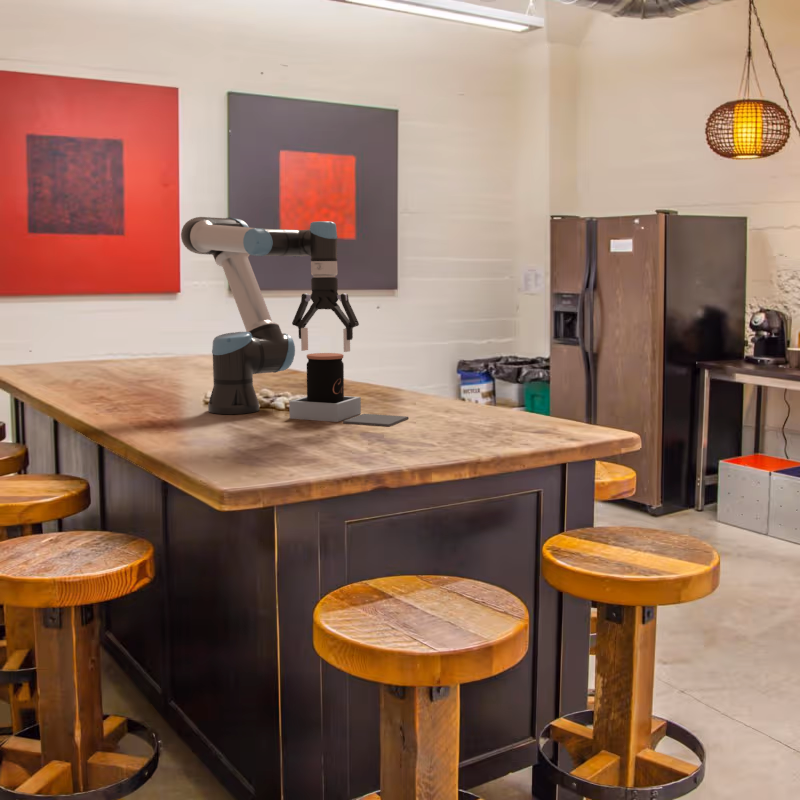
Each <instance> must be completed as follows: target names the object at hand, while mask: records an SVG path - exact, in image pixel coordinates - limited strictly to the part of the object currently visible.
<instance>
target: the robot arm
mask: <svg viewBox="0 0 800 800" xmlns="http://www.w3.org/2000/svg"><path fill="white" fill-rule="evenodd" d="M309 226H310V227H309V229H277V228H276V229H274V228H262V227H250V226H249V225H248V223H247V222H245V221H244V220H242V219H240V218H234V217H211V216H210V217H209V216H208V217H206V216H199V217H198V216H197V217H193V218H191V219H189V220H188V221H186V222H185V223H184V225H183V226H182V228H181V232H180V237H181V238H180V239H181V242H182V244H183V246H184V247H185V248H186V249H187V250H188V251H189V252H192V253H194V254H198V255H212V256H213V258H214V261H215V264H216V265H217V266H218V267H222V269H223V271H224V272H223V273H224V275H225V277H226V280H227V282H228V286H229V288H230V291H231V294H232V296H233V299H234V301H235V304H236V308H237V309H238V312H239V315H240V318H241V320H242V323H243V326H244V328H245V331H235V332H228V333H224V334H223V333H222V334H218V335H217V336H215V337H214V339H213V340H212V349H211V354H212V371H213V372H212V377H213V378H212V379H213V386H212V391H211V394H210V397H209V401H208V404H207V405H208V406H207V409H208V412H209V413H211V414H218V415H243V414H244V415H245V414H251V413H256V412H258V411H260V402H259V398H258V396H257V394H256V390H255V388H254V383H253V381H254V379H253V377H254V375H257V374H258V375H259V374H266V373H267V374H269V373H273V374H274V373H278V372H284V371H286V370H288V369H289V368H290V367H291V366H292V364H293V362H294V357H295V355H296V346H295V341H294V339H293V338H292V336H291V335H289V333H288V334H287V333H282V329H281V327H280V324H278V323H276V322H273V319H272V317H271V315H270V314H271V313H270V311H269V309H268V307H267V304H266V301H265V299H264V296H263V294H262V291H261V288H260V286H259V283H258V280H257V278H256V275H255V273H254V270H253V267H252V265H251V262H250V259H249V257H250V255H251V256H255V257H265V256H266V257H274V256H277V257H294V258H296V257H297V258H300V257H309V256H310V273H311V276H312V277H311V279H310V282H311V288H310V290H311V294H310V293H302V294H301V301H300V304H299V306H298V307H297V311H296V312H295V316H294V317H293V320H292V323H291V324H292V326H294V327H295V326H296V327H297V329H298V339H300V341H301V343H300V344H301V345H300V346H301V351H309V331H308V329H309V328H308V327H307V324H308V323H309V322H310V321H311V319H312V318H313V316H315V314H316V313H317V311H319V310H331V311H332V312H334V314H335V315H336V316H337V318H338V319H339V321H340V322H341V323H342V324H343V326H344V328H343V329H342V330H343V331H342V332H343V338H342V339H343V353H347V352H351V341H352V340H353V338H354V337H353V336H354V335H353V334H354V332H353V329H354V328H355V327H358V326H360V323H359V321H358V318H357V316H356V314H355V311H354V310H353V308H352V305H351V304H350V301H349V294H348V293H340V294H339V293H338V289H339V288H338V287H339V286H338V283H339V282H338V277H336V276H337V275H338V273H339V272H338V234H337V233H338V231H337V230H338V229H337V224H336V222H333V221H324V220H323V221H319V220H318V221H311V222H310V225H309ZM310 301H311V302H312V304H310V307H309V308H308V305H309V302H310ZM338 301H340V303H341V305H342V308H343V310H344V312H345V313H344V312H343V310H342V308H341V307H340V305H339V304H338ZM307 308H308V310H307ZM306 310H307V312H306ZM305 312H306V313H305Z"/></svg>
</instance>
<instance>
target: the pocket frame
mask: <svg viewBox="0 0 800 800" xmlns="http://www.w3.org/2000/svg"><path fill="white" fill-rule="evenodd" d="M361 400H362V397H361V396H350V395H349V396H348V395H344V401H342V402H339V403H321V402H307V395H306V396H303V397H299V398H296V399H292V400H289V401H288V403H289V405H288V406H289V407H288V408H289V416H288V417H289V419H293V420H294V419H295V420H306V421H307V420H310V421H320V422H321V421H322V422H323V421H324V422H335V423H338V422H341V421H342V422H343V421H344V420H347V419H350V418H353V417H356V416H359V415H362V414H361V413H362V412H361V411H362V410H361V409H362V408H361V407H362V405H361V404H362V401H361Z"/></svg>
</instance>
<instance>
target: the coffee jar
mask: <svg viewBox="0 0 800 800" xmlns="http://www.w3.org/2000/svg"><path fill="white" fill-rule="evenodd" d="M343 358H344V354H343V353H335V352H316V353H307V354H306V359H307V360H308V361H307V363H306V396H307V402H321V403H339V402H342V401H344V396H345V386H344V385H345V378H344V377H345V374H344V372H345V371H344V365H345V364H344V362H343Z"/></svg>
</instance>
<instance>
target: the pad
mask: <svg viewBox="0 0 800 800" xmlns="http://www.w3.org/2000/svg"><path fill="white" fill-rule="evenodd" d="M408 419H409V416H405V415H402V416H401V415H393V414H392V415H391V414H388V415H387V414H377V413H362V414H359V415H356V416H353V417H350V418H347V419H344V420H342V424H350V425H351V424H352V425H362V426H364V425H366V426H378V427H391V425H392V426H394V425H396V423H397V424H399V423H402V422H403V421H406V420H408Z"/></svg>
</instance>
